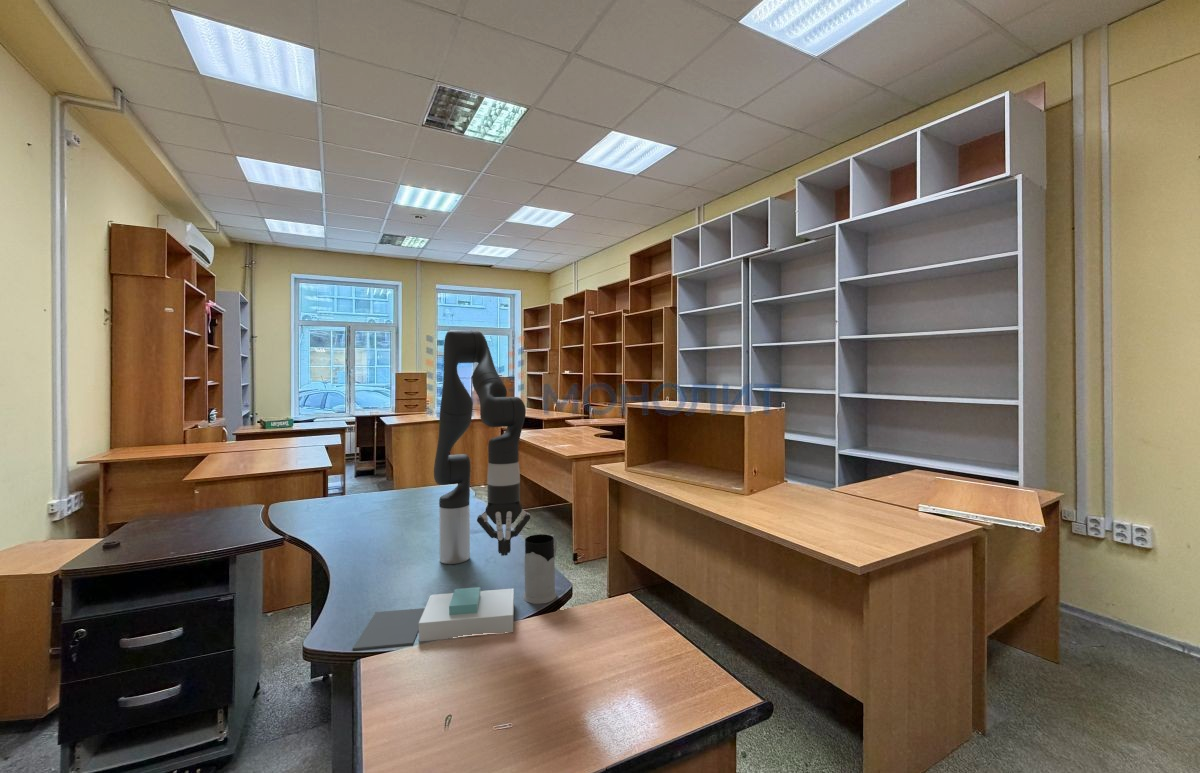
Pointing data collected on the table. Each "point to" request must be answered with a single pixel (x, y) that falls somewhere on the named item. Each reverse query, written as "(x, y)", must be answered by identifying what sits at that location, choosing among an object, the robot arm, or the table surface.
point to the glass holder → (540, 568)
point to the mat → (390, 629)
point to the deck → (467, 616)
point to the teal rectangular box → (464, 601)
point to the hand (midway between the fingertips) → (504, 554)
